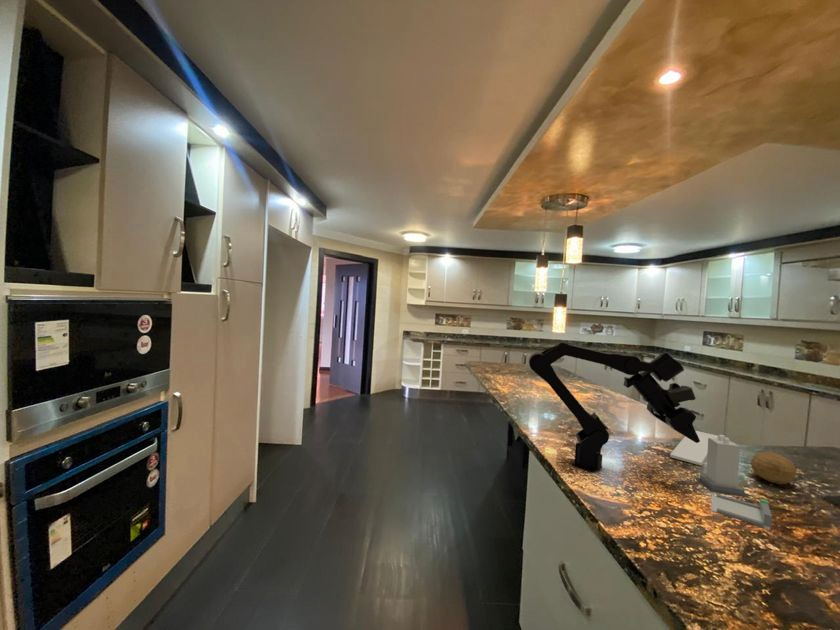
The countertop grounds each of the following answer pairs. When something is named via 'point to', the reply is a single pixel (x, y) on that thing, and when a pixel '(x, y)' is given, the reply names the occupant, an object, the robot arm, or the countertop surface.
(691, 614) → the countertop surface
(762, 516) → the port
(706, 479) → the plug
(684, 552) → the countertop surface
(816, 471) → the countertop surface
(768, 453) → the potato
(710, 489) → the pad
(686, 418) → the robot arm
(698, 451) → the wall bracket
